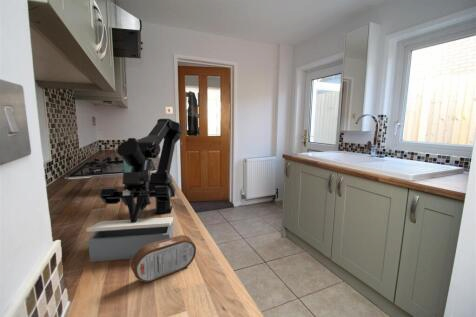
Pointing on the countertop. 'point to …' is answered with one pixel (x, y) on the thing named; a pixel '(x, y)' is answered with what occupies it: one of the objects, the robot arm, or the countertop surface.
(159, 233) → the storage box
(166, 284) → the countertop surface
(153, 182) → the robot arm
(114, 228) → the lid
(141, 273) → the tin
